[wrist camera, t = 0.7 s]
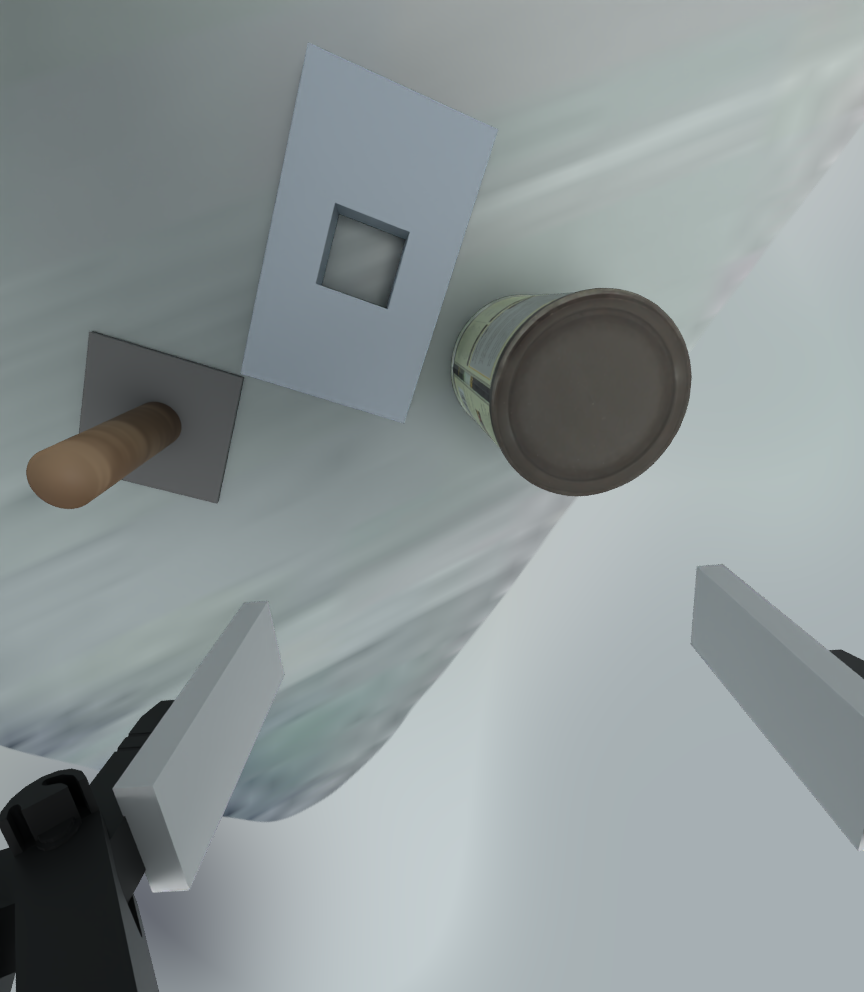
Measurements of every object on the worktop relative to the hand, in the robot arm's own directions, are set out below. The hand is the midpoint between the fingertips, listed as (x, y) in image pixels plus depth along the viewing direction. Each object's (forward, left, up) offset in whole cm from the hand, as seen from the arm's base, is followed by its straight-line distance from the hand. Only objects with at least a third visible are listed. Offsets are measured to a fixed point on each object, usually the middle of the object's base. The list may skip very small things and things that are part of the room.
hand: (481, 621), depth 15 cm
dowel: (+5, -18, -25) cm, 31 cm away
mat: (+5, -18, -25) cm, 31 cm away
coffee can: (-7, +6, -25) cm, 27 cm away
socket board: (-10, -7, -25) cm, 28 cm away
